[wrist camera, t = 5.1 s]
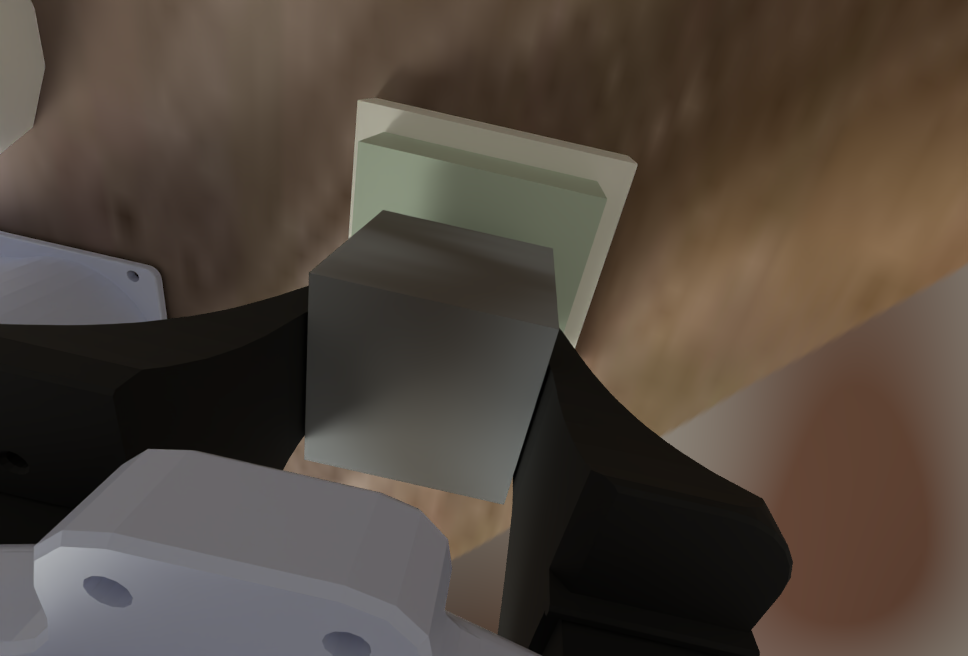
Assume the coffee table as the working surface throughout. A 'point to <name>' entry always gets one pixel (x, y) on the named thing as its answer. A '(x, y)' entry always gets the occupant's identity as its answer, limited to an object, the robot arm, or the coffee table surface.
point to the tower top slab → (482, 200)
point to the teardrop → (19, 69)
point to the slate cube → (428, 353)
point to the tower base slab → (520, 148)
